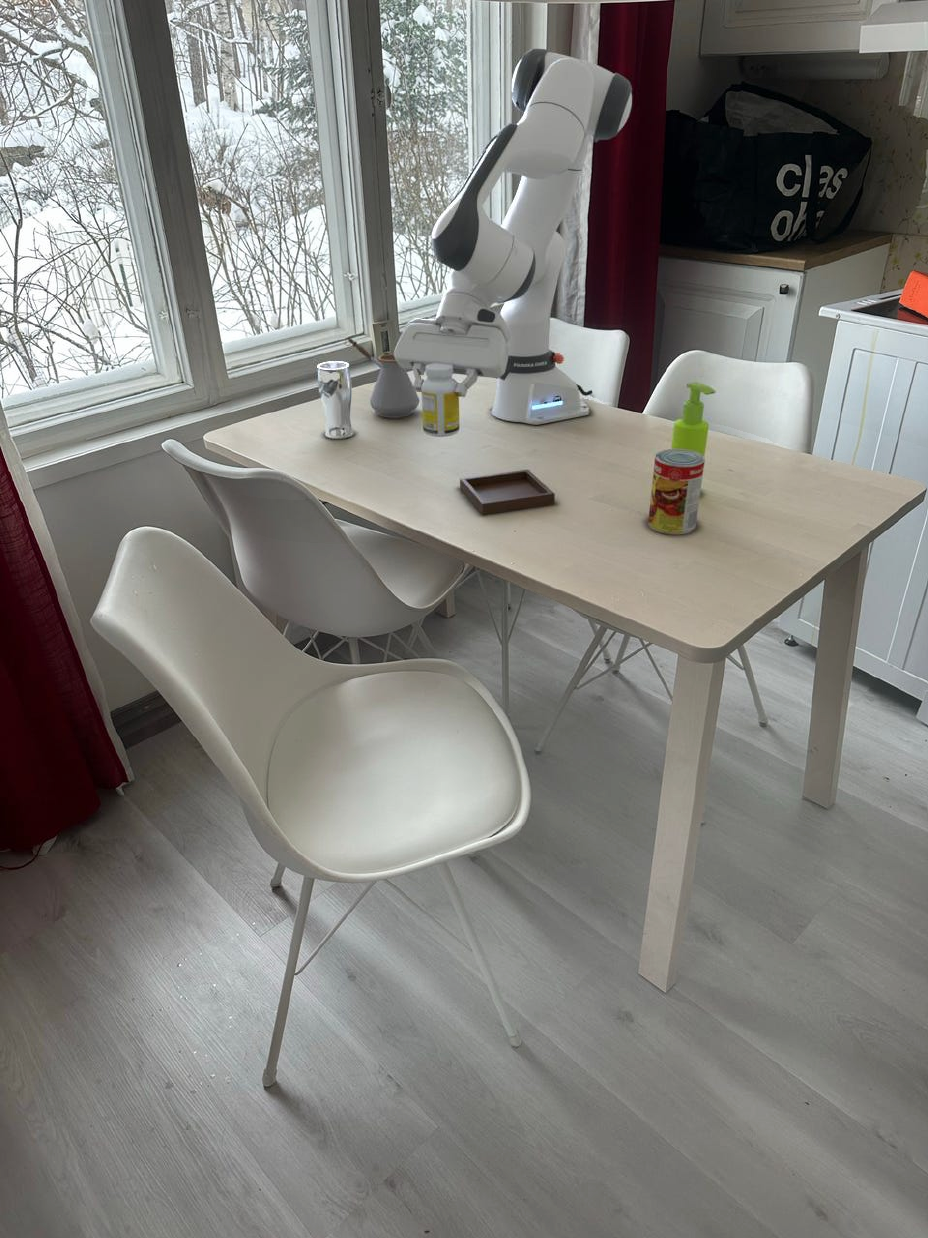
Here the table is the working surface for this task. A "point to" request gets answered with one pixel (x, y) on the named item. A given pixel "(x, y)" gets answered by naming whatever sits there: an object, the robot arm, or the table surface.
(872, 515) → the table surface
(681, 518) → the canned food
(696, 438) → the soap dispenser
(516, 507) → the tray
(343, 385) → the beer glass
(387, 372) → the coffee pot
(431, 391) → the pill bottle
